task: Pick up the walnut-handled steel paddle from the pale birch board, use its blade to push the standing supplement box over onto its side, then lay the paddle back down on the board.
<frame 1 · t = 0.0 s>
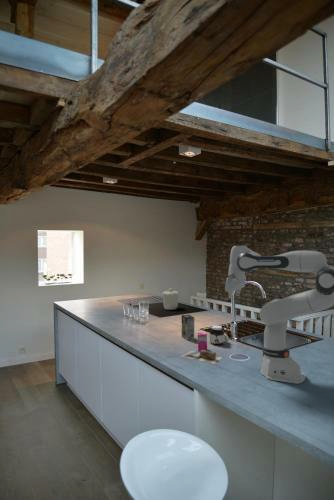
hand: (234, 297, 194), 39 cm above the worktop, tool pointing down, fingers open, 8 cm apart
coffee box: (187, 338, 248), on the worktop
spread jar: (219, 343, 236), on the worktop
paddle: (203, 357, 205), point 1 cm above the worktop, touching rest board
canister: (170, 309, 349), on the worktop
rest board: (201, 358, 206), on the worktop
supplement box: (202, 351, 218), on the worktop
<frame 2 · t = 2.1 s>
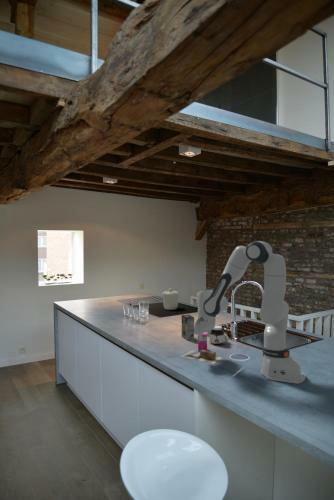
hand: (204, 338, 204), 12 cm above the worktop, tool pointing down, fingers open, 8 cm apart
nothing on the worktop moved.
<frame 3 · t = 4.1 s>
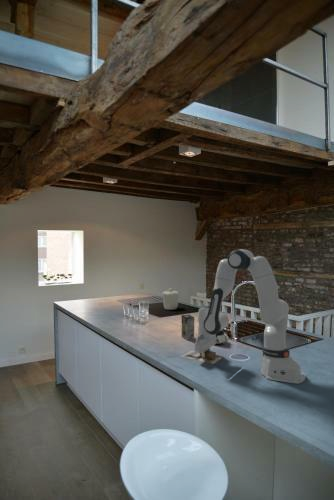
hand: (205, 355, 205), 2 cm above the worktop, tool pointing down, fingers closed on paddle, 3 cm apart
paddle: (203, 357, 205), point 1 cm above the worktop, touching gripper, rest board
everything else where it was.
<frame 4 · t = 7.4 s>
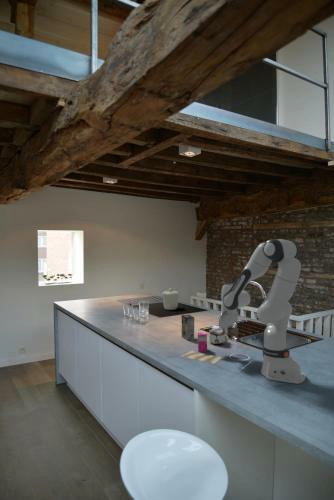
hand: (228, 332, 208), 15 cm above the worktop, tool pointing down, fingers closed on paddle, 3 cm apart
paddle: (226, 333, 208), point 14 cm above the worktop, touching gripper
everything else where it was.
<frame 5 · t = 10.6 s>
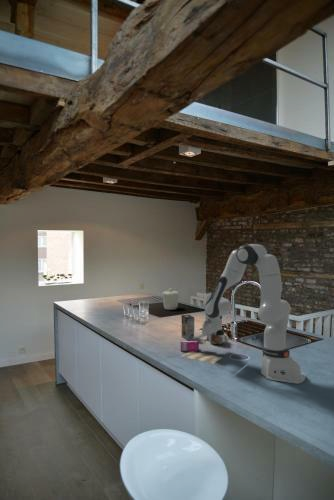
hand: (211, 339, 214), 9 cm above the worktop, tool pointing down, fingers closed on paddle, 3 cm apart
paddle: (210, 340, 215), point 8 cm above the worktop, tilted 7°, touching gripper
supplement box: (198, 346, 219), point 3 cm above the worktop, touching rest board
everything else where it was.
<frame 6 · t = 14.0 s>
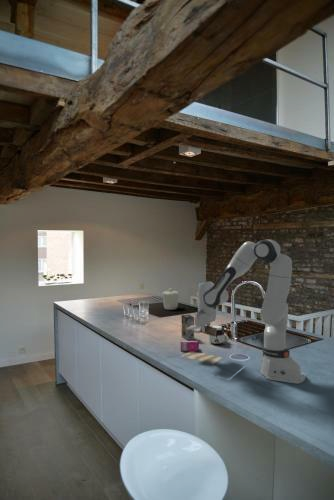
hand: (205, 331, 204), 17 cm above the worktop, tool pointing down, fingers closed on paddle, 3 cm apart
paddle: (204, 332, 205), point 16 cm above the worktop, tilted 7°, touching gripper
everything else where it was.
when the fingers open (4 cm above the worktop, at t = 17.2 s): paddle drops 2 cm, resting on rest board.
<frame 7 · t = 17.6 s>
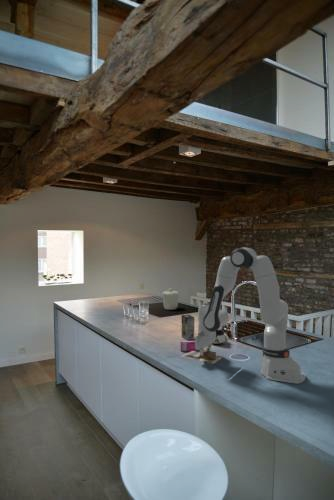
hand: (205, 353, 204), 4 cm above the worktop, tool pointing down, fingers open, 7 cm apart
paddle: (204, 357, 205), point 1 cm above the worktop, touching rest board
everything else where it was.
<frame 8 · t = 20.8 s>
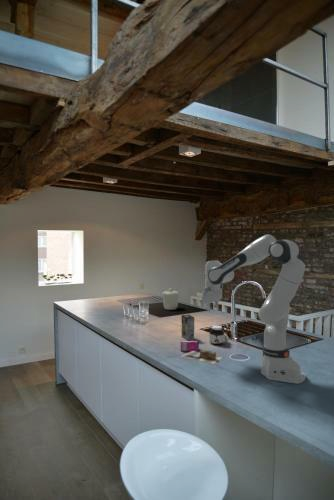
hand: (212, 309, 209), 29 cm above the worktop, tool pointing down, fingers open, 8 cm apart
nothing on the worktop moved.
at the end: supplement box tilted 89°; paddle inside the target area on the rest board (0.1 cm from its centre), point 0.8 cm above the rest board's base; the gripper is holding nothing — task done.
